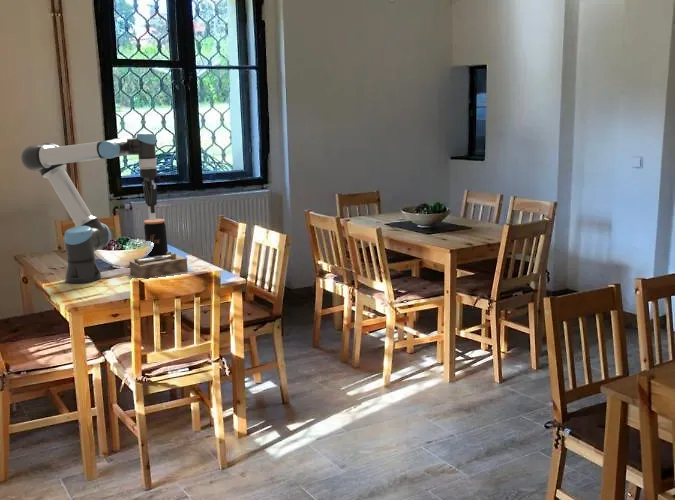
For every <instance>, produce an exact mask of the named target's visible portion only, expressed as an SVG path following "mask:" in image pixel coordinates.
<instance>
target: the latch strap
mask: <svg viewBox="0 0 675 500" xmlns="http://www.w3.org/2000/svg"><path fill="white" fill-rule="evenodd" d="M171 254H172V253H171ZM171 254H170V255H164V256H160V255H159V256H153V257H152V258H151V257H147V258H146V259H145V258H141V259H140V258H139V259H140V260H143V262H147V261H153V260H159V259H165V258H171ZM139 259H137V260H136V262H138V261H139Z"/></svg>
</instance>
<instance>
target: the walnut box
mask: <svg viewBox="0 0 675 500" xmlns="http://www.w3.org/2000/svg"><path fill="white" fill-rule="evenodd" d="M166 254H167V255H170V254H171V258H165V259H159V260H153V261H147V262H143V260H140V258H139V257H138V258H134V259H132V260H129V269H130V270H129V271H130V275H132V276H135V277H136V278H138V277H140V278H147V279H151V278H150V277H152V278H156V277H155V276H158V277H162V276H161V275H163V276H167V275H174V274H179V273H185V272H188V259H187V258H186V257H184V256H182V255H179V254H177V253H175V252H174V253H172V251H168V252H166ZM163 256H164V255H163ZM150 258H152V257H150ZM137 259H139V261H138V262H136V260H137ZM144 259H146V258H144ZM140 278H139V279H140Z"/></svg>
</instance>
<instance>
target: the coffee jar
mask: <svg viewBox="0 0 675 500" xmlns="http://www.w3.org/2000/svg"><path fill="white" fill-rule="evenodd" d="M143 224H144V226H143V230H144V241H145V242H146V241H151V242H153V243H154V247H153V249H152V251H151V252H150V253H149V254H148V255H147V257H149V256H150V257H149V258H151V257H153V256H159V255H160V256H163V255H167V254H166V252H169V249H168V237H167V228H166V219H164V218H156V220H149V219H145V220H143Z"/></svg>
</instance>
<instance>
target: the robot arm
mask: <svg viewBox="0 0 675 500" xmlns="http://www.w3.org/2000/svg"><path fill="white" fill-rule="evenodd" d="M156 153H157V152H156V142H155V135H154V133H151V132H139V133H137V134H136V137H131V138H130V137H117V138H115V137H114V138H112V139H108V140H103V141H102V140H101V141H92V142H86V143H78V144H68V145H62V146H61V145H60V146H59V145H58V144H55V143H49V142H44V143H40V144H39V143H38V144H33V145H29V146H27V147H25V148H24V149H23V150H22V151H21V155H20V160H21V163H22V165H23V167H25V169H27V170H29V171H31V172H39V173H40V175H41V177H42V178H45V179H47V180H48V181H49V183H50V185H51V186H52V188H53V190H54V192H55V193H56V194H57V196H58V199H59V200H60V202H61V203H62V205H63V207H64V208H65V210H66V212H67V214H68V215H69V217H70V218H71V220H72V222H73V223H74V226H72V227H70V228H68V229H66V231H64V238H63V239H64V240H63V241H64V244H65V252H66V254H65V255H66V259H67V260H66V261H67V266H66V270H65V276H64V278H65V283H67V284H86V283H92V282H95V281H98V280H100V279H101V278H102V275H101V271H100V269H99V266H98V264H97V262H96V258H95V252H96V251H99V250H101V249H103V248H105V247H106V246H107V245H108V244H109V243H110V241H111V231H110V228H109V227H108V225H107V224H105V223H102V222H101V221H100V220H99V217H97V216H94V215H93V214H92V213H91V211H90V209H89V208H88V206H87V204H86V203H85V201H84V199H83V197H82V196H81V194H80V193H79V191H78V189H77V187H76V186H75V184H74V182H73V181H72V179H71V177H70V176H69V174H68V172H67V171H66V169H67V164H71V163H78V162H79V163H80V162H87V161H89V162H90V161H95V160H96V161H97V160H103V159H110V160H111V159H115V158H117V157H119V158H120V157H122V156H138V167H139V168H140V169H139V176H140V178H143V182H141V185H142V188H143V196H144V201H145V204H146V205H147V213H148V220H156V219H157V216H156V214H157V213H156V205H157V203H158V196H157V195H158V184H156V181H155V177H158V168H157V163H158V161H157V156H156V155H157V154H156Z"/></svg>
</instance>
